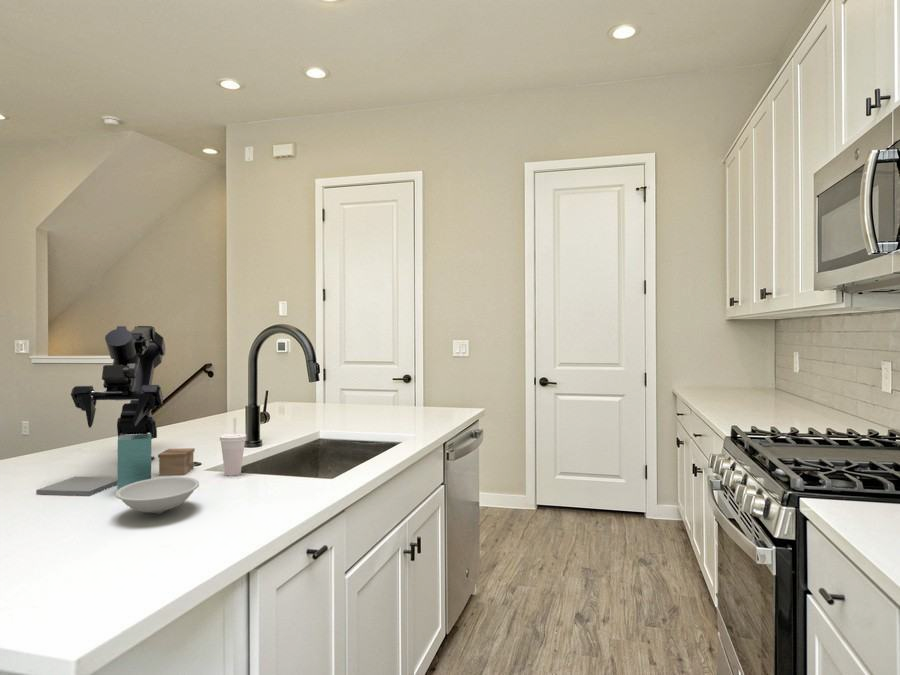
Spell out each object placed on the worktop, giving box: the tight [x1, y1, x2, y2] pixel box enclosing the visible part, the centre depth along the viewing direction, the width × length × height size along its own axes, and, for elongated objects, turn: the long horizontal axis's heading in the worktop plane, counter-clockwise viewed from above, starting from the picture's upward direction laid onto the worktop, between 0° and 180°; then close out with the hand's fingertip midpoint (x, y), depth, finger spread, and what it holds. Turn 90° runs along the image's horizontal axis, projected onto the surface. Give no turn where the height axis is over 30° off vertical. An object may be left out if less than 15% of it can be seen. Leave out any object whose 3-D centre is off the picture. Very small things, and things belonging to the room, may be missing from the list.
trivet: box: [35, 476, 117, 497], centre depth 134 cm, size 12×12×1 cm
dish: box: [115, 476, 200, 515], centre depth 116 cm, size 18×14×5 cm
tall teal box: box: [116, 433, 152, 491], centre depth 132 cm, size 6×6×12 cm
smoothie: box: [219, 417, 247, 476], centre depth 148 cm, size 6×6×14 cm
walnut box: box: [157, 447, 195, 476], centre depth 150 cm, size 7×6×5 cm
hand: (111, 425), depth 137 cm, fingers open, 9 cm apart
